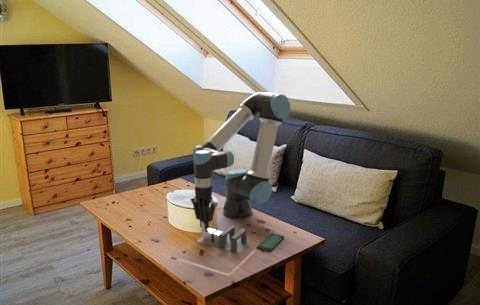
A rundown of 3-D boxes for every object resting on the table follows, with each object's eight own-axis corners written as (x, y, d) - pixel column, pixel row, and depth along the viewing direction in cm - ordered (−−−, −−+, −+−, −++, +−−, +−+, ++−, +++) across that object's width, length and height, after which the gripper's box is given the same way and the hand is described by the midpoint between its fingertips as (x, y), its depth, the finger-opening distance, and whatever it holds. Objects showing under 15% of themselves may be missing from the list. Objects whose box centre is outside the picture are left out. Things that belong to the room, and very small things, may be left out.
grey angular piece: (209, 233, 185) (208, 220, 183) (250, 244, 174) (250, 230, 172) (196, 242, 176) (196, 228, 175) (239, 254, 166) (239, 239, 164)
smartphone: (255, 246, 171) (270, 232, 184) (255, 249, 171) (270, 234, 184) (270, 250, 167) (285, 236, 180) (270, 253, 168) (284, 238, 180)
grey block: (203, 239, 178) (203, 231, 177) (208, 235, 181) (208, 227, 180) (222, 244, 173) (222, 236, 172) (227, 240, 176) (226, 232, 175)
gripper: (186, 185, 173) (188, 234, 180) (210, 190, 167) (211, 241, 173) (196, 180, 180) (198, 228, 186) (220, 185, 173) (221, 234, 179)
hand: (204, 234), depth 180 cm, fingers closed
